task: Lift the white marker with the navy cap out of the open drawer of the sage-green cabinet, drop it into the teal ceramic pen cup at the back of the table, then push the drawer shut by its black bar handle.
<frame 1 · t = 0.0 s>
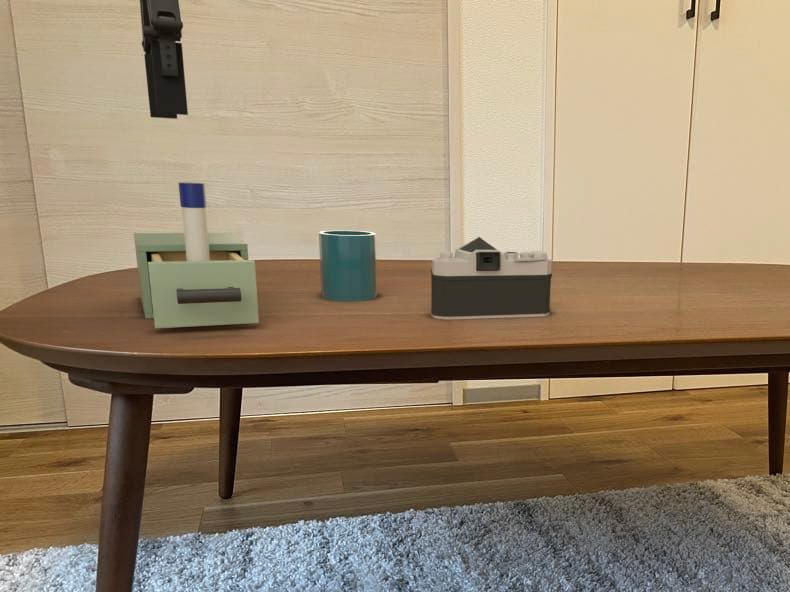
hand: (168, 116, 82), 22 cm above the table, tool pointing down, fingers open, 13 cm apart
marker: (202, 306, 88), point 2 cm above the table, touching drawer
cabinet: (195, 308, 97), on the table
camera: (488, 316, 101), on the table
drawer: (201, 288, 86), point 4 cm above the table, slide at 8.0 cm, touching marker
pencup: (349, 298, 108), on the table
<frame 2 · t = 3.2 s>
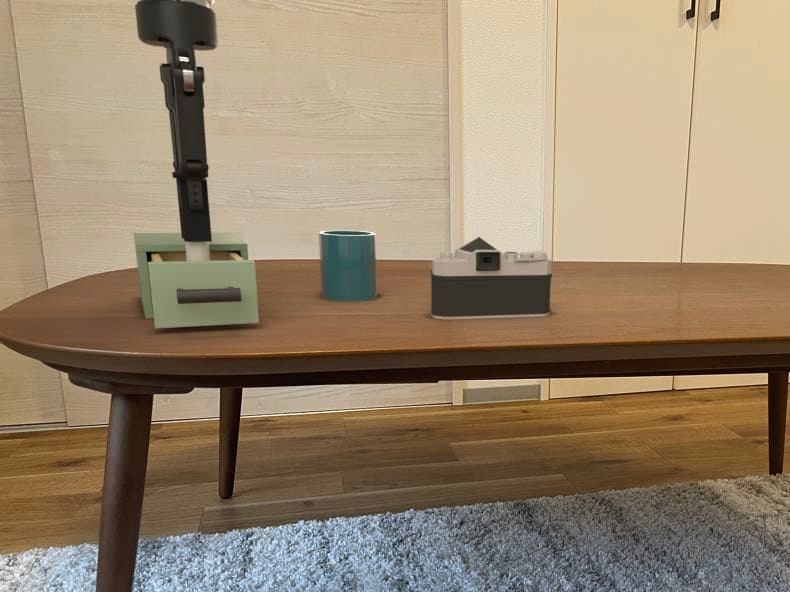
hand: (196, 239, 86), 10 cm above the table, tool pointing down, fingers closed on marker, 3 cm apart
marker: (202, 306, 88), point 2 cm above the table, touching drawer, gripper
everything else where it was.
when the fingers open (15 cm above the table, at t = 9.5 s): marker drops 6 cm, resting on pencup.
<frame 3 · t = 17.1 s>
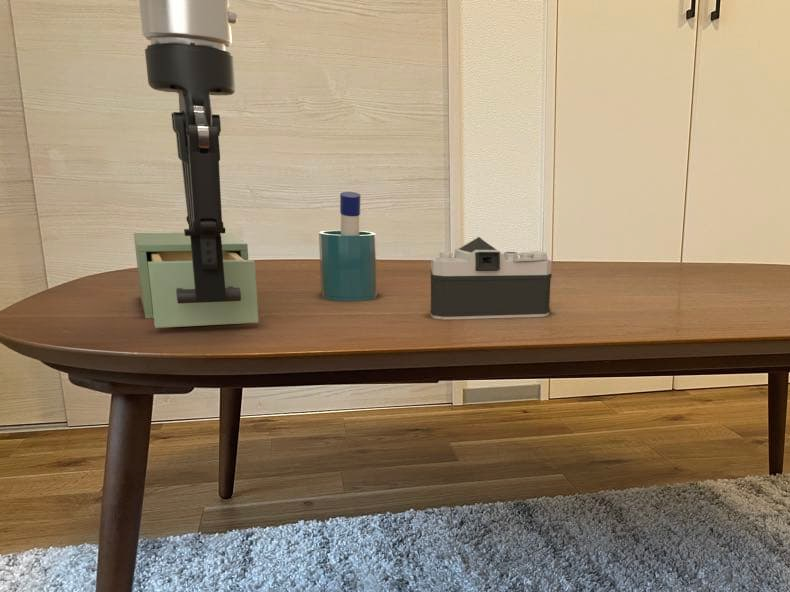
hand: (211, 300, 79), 4 cm above the table, tool pointing down, fingers closed
marker: (349, 291, 108), point 1 cm above the table, tilted 13°, touching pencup
drawer: (201, 288, 86), point 4 cm above the table, slide at 7.8 cm, touching gripper
everything else where it was.
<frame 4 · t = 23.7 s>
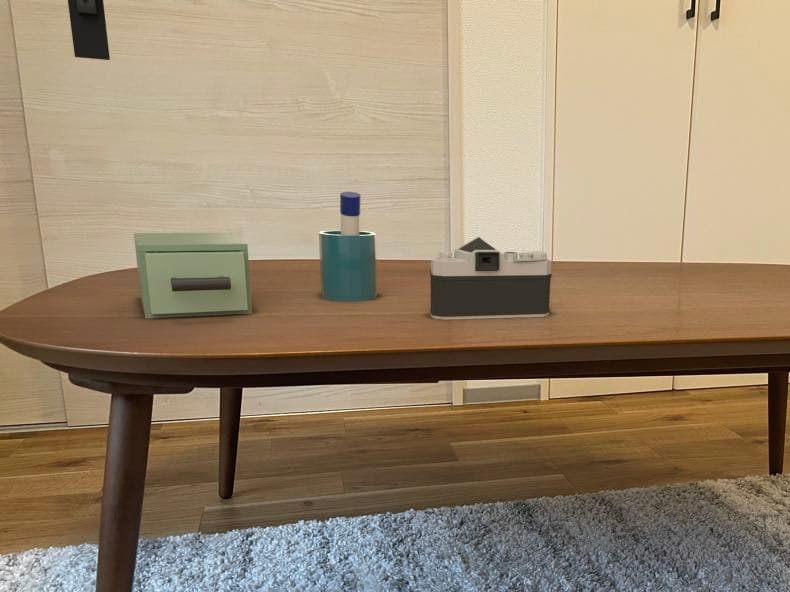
hand: (92, 57, 69), 26 cm above the table, tool pointing down, fingers closed
drawer: (194, 278, 93), point 4 cm above the table, slide at 0.0 cm, touching cabinet
everything else where it was.
at the end: marker 0.1 cm off-centre in the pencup, point 1.1 cm above the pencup's base; drawer slide at 0.0 cm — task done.
